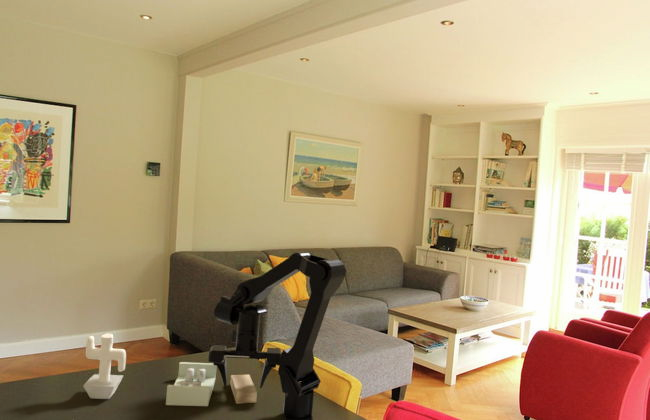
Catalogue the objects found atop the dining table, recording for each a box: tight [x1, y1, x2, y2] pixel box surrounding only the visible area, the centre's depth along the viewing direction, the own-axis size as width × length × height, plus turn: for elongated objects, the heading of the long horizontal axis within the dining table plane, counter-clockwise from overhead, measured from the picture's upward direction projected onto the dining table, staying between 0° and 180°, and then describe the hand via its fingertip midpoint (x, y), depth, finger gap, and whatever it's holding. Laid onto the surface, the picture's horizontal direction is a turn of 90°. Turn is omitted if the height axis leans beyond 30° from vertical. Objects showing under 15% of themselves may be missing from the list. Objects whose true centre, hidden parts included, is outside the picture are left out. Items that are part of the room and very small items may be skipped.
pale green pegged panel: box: [165, 361, 217, 407], centre depth 124 cm, size 10×17×4 cm, turn 7°
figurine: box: [82, 332, 127, 400], centre depth 117 cm, size 7×9×15 cm
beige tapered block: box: [229, 374, 258, 404], centre depth 126 cm, size 5×12×3 cm, turn 18°
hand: (243, 386), depth 126 cm, fingers open, 9 cm apart
